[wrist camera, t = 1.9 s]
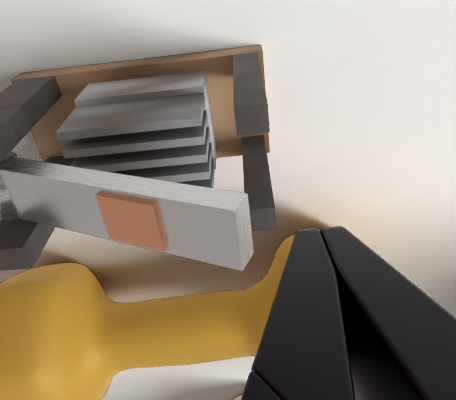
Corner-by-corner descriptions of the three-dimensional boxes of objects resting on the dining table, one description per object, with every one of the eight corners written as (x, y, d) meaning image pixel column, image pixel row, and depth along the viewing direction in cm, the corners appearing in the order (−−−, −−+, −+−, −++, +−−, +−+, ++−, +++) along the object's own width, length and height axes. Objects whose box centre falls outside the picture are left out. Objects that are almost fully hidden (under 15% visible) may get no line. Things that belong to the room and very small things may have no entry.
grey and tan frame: (261, 44, 18) (277, 116, 12) (268, 142, 21) (284, 246, 14) (21, 73, 19) (-88, 155, 13) (55, 164, 22) (-21, 272, 15)
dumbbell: (67, 339, 29) (17, 469, 22) (9, 234, 24) (-77, 359, 18) (353, 310, 28) (393, 440, 21) (352, 190, 23) (405, 309, 16)
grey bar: (252, 187, 11) (229, 217, 10) (258, 246, 13) (238, 279, 12) (-3, 150, 16) (-37, 168, 15) (18, 196, 17) (-12, 217, 16)
